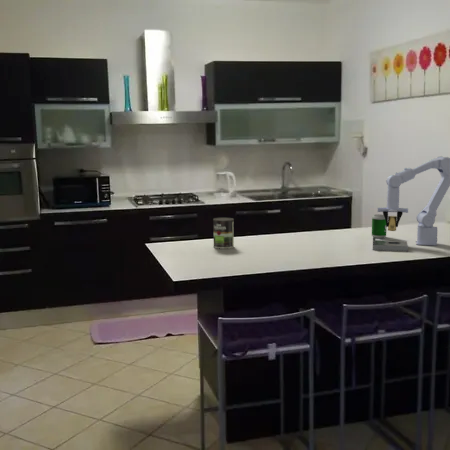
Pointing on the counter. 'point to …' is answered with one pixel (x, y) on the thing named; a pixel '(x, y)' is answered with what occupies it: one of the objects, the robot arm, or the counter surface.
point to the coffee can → (223, 232)
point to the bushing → (392, 223)
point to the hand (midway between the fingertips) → (392, 226)
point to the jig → (390, 245)
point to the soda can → (379, 226)
